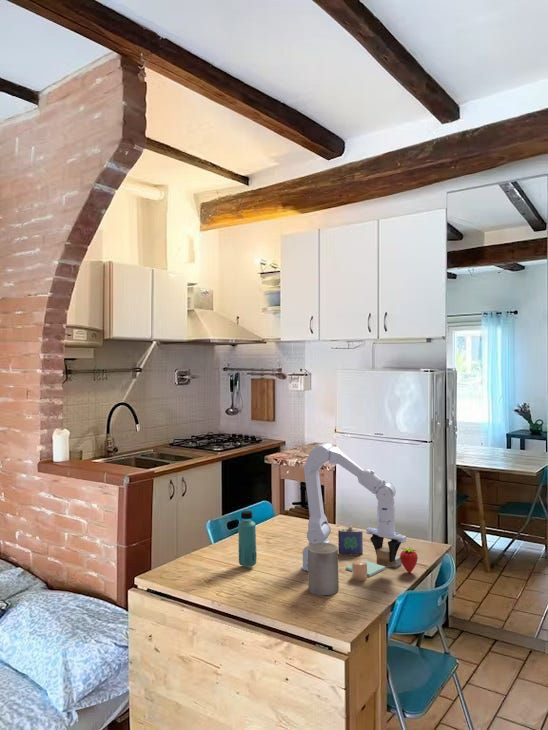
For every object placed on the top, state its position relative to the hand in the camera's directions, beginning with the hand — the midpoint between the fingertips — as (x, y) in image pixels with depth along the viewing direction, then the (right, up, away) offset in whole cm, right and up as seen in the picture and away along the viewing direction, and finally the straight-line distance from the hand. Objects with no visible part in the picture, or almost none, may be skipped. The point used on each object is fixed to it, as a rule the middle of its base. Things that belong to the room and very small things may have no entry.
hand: (385, 559), depth 191 cm
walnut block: (0, -2, 0) cm, 2 cm away
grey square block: (+5, -6, +11) cm, 13 cm away
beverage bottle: (-48, -6, +9) cm, 49 cm away
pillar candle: (-22, -6, -10) cm, 25 cm away
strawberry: (+9, -6, +3) cm, 11 cm away
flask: (-9, -6, +22) cm, 25 cm away
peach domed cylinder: (-9, -6, -1) cm, 11 cm away
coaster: (-6, -6, +7) cm, 11 cm away
